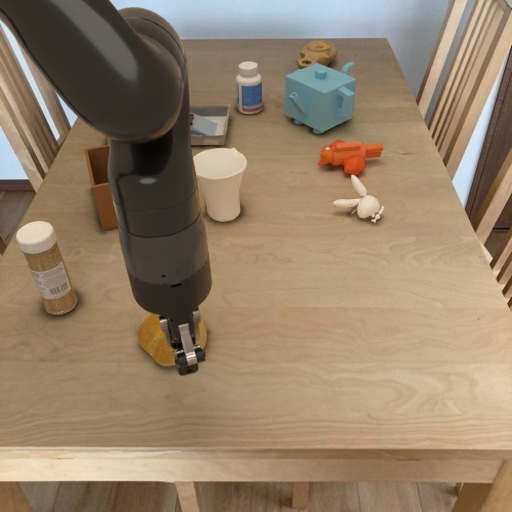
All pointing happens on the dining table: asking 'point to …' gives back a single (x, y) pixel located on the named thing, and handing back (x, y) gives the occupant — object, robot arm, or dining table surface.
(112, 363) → the dining table surface
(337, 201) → the rabbit figurine
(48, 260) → the sprinkles bottle
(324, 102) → the teapot
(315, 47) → the oil lamp
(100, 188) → the box
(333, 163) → the orange toy bird
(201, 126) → the grey flat rectangular tray
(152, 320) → the bread roll
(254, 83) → the pill bottle
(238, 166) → the cup
